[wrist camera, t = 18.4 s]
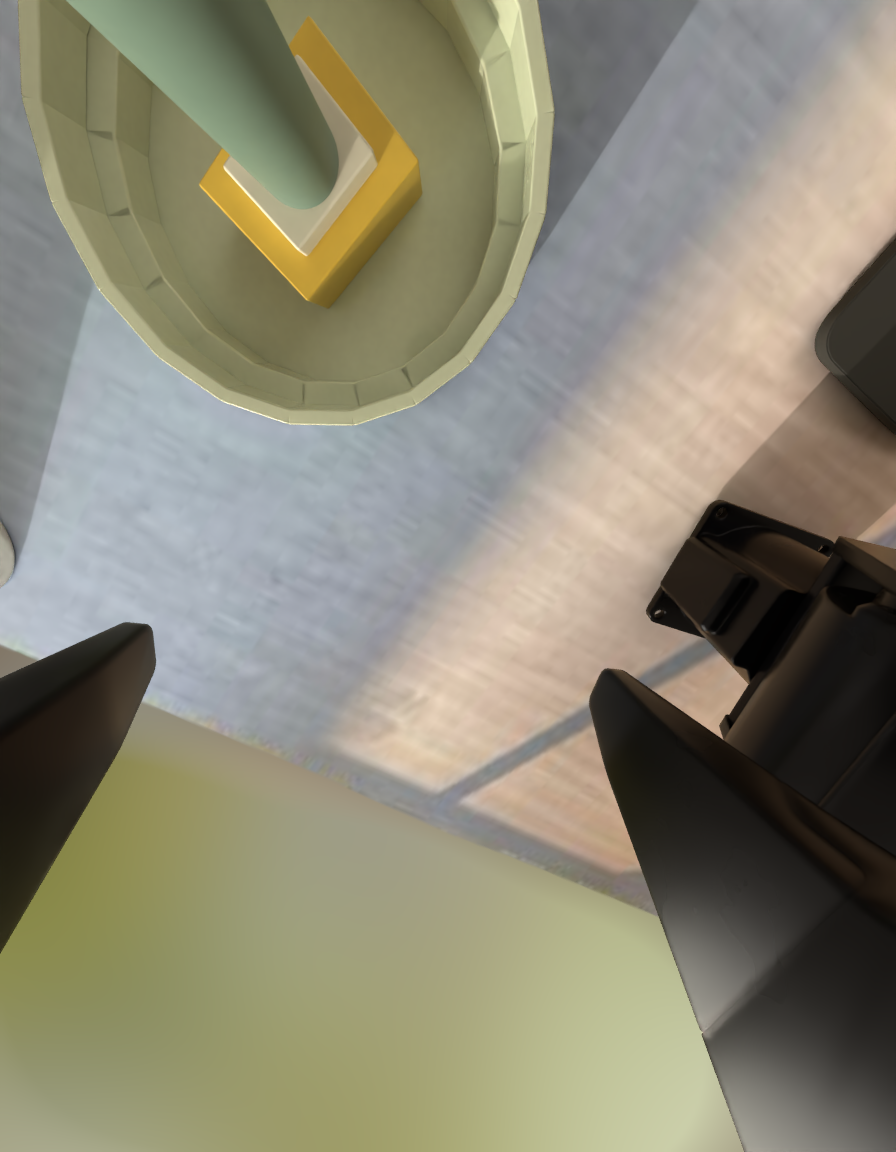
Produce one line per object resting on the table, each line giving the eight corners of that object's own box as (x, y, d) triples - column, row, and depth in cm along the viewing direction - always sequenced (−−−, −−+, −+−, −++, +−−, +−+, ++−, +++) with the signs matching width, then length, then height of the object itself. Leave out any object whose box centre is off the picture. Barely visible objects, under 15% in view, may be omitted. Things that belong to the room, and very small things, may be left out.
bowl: (598, 29, 14) (649, -80, 11) (451, 458, 20) (452, 480, 16) (128, -215, 12) (-2, -452, 9) (112, 340, 18) (29, 336, 14)
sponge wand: (333, 77, 14) (-728, -2612, 1) (423, 193, 16) (323, -617, 3) (238, 213, 16) (-711, -452, 3) (328, 309, 17) (-41, 161, 4)
